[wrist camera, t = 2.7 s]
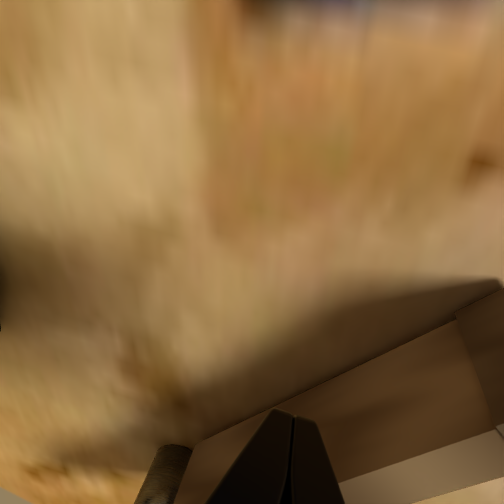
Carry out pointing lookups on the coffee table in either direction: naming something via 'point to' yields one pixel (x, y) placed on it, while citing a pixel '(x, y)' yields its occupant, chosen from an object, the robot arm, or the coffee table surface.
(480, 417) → the gate
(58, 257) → the coffee table surface
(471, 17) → the coffee table surface
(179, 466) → the hinge post
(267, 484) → the robot arm
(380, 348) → the coffee table surface
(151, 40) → the coffee table surface
